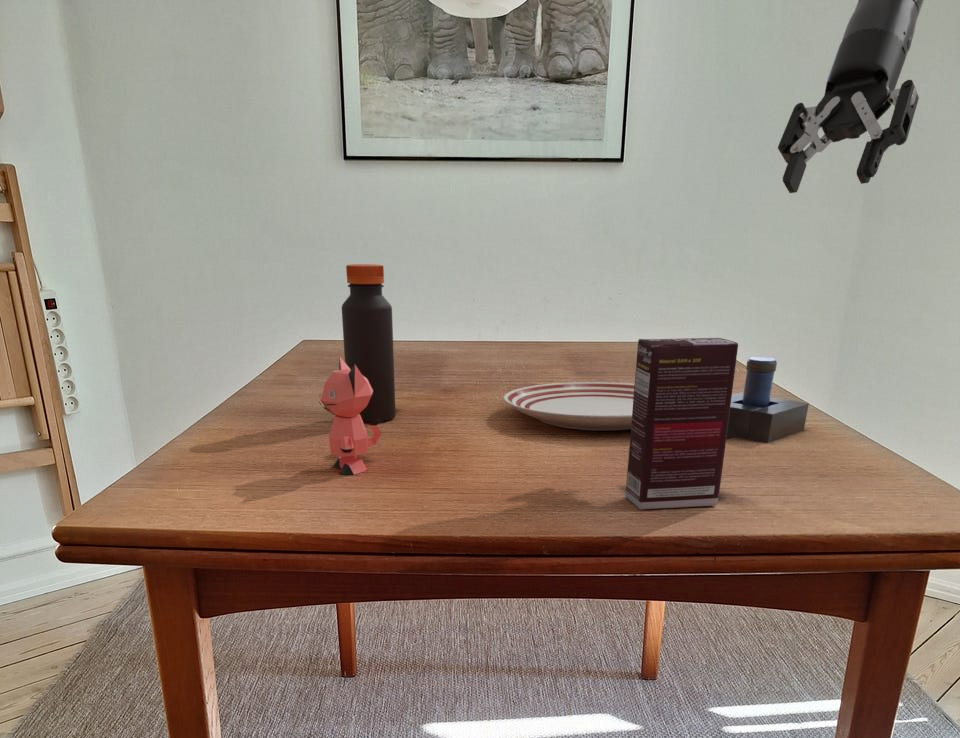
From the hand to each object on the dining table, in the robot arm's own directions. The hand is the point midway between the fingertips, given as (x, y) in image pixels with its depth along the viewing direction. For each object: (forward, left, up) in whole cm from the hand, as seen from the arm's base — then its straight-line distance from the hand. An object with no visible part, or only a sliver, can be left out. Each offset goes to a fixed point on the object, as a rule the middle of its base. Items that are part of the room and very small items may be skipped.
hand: (825, 184), depth 96 cm
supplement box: (-4, +32, -30) cm, 44 cm away
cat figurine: (+28, +48, -30) cm, 63 cm away
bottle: (+47, +30, -30) cm, 64 cm away
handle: (+4, 0, -30) cm, 30 cm away
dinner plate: (+25, +6, -30) cm, 40 cm away
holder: (+4, 0, -30) cm, 30 cm away
